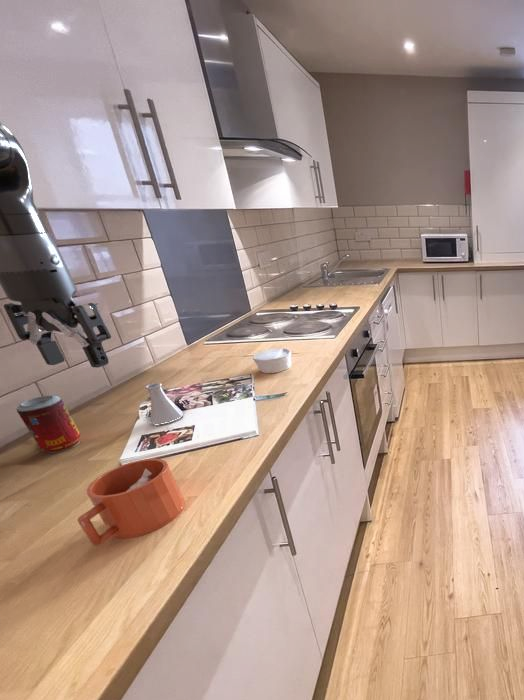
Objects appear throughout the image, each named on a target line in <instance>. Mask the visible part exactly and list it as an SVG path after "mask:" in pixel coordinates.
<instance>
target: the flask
mask: <svg viewBox="0 0 524 700" xmlns="http://www.w3.org/2000/svg"><path fill="white" fill-rule="evenodd" d="M145 389H146V390H147V391H148V393H149V398H150V418H149V419H150V422H151V423H154V424H161V423H165V422H170V421H172V420H175V419H177V418H179V417H182V414H183V413H184V411H182V409H180V408H179V406H177V404H175V403H174V402H173V401H172V400H171V399H170V398H169V397H168V396H167V395H166V393H165V391H164V390H163V388H162V383H161V382H153V383H149V384H147V385H145Z"/></svg>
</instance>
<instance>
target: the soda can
mask: <svg viewBox="0 0 524 700" xmlns="http://www.w3.org/2000/svg"><path fill="white" fill-rule="evenodd" d="M16 413H18V416H19V417H20V418H21V420H22V422H23V423H24V425H25V426H26V428H27V430H28V432H29V434H30V435H31V436H32V439H34V441H35V443H36V445H37V446H38V447H39V449H41V450H43V451H46V453H49V454H55V453H61V452H65V451H67V450H70V449H73V448H74V447H77V446H78V445H79V444H80V443H81V432H80V430H79V428H78V426H77V425H76V423H75V421H74V419H73V418H72V416H71V414H70V412H69V410H68V408H67V406H66V405H65V402H64V400H63V399H62V398H61V397H60V396H57V395H51V394H50V395H42V396H37V397H33V398H30V399H27V400H25V401H23V402H21V403H20V404H19V405H18V406H17V408H16Z"/></svg>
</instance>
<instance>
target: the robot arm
mask: <svg viewBox="0 0 524 700" xmlns="http://www.w3.org/2000/svg"><path fill="white" fill-rule="evenodd" d="M0 286H1V289H2V291H3V293H4V294H5V296H6V298H7V299H8V300H10V301H12V302H10V303H5V304H3V308H4V310H5V312H6V314H7V316H8V318H9V321H10V323H11V324H12V326H13V329H14V331H15V332H16V335H17V337H18V338H19V339H20V340H21V341H27V340H28V341H29V342H30V343H31V344H32V345H35V346H36V347H37V349H38V351H39V353H40V354H41V356H42V359H43V360H44V362H45V364H46V365H47V366H56V365H58V364H61V363H64V362H65V360H66V358H65V356H64V354H63V353H62V351H61V349H60V347H59V345H58V343H57V341H56V340H54V338H55V333H56V332H58V333H63V334H64V335H65V336H67V337H69V338H73V339H74V340H76V341H77V342H78V343H79V344H80V345H81V346H82V350H83V352H84V354H85V356H86V359H87V360H88V362H89V364H90V366H91V367H92V368H97V369H98V368H101V367H104V366H107V365H109V358H108V355H107V352H106V351H105V349H104V347H103V342H104V341H107V340H110V339H111V338H112V335H111V333H110V330H109V328H108V327H107V325H106V323H105V321H104V319H103V317H102V315H101V313H100V311H99V309H98V306H97V305H96V304H95V303H94V302H89V303H82V304H78V303H77V302H76V301H75V300H74V298H73V296H74V295H75V294H76V293H77V292H78V289H77V286H76V284H75V282H74V280H73V278H72V276H71V273H70V270H69V269H68V267H67V264H66V262H65V260H64V258H63V256H62V253H61V251H60V249H59V247H58V246H57V244H56V243H55V241H54V239H53V238H52V236H51V234H50V233H49V232H48V228H47V225H46V224H45V222H44V219H43V217H42V215H41V213H40V211H39V209H38V207H37V205H36V204H35V201H34V191H33V184H32V180H31V173H30V167H29V163H28V159H27V156H26V153H25V151H24V149H23V147H22V145H21V144H20V142H19V140H18V139H17V137H16V136H15V135H14V134H13V132H12V131H11V130H10V129H9V128H8V127H7V126H6V125H4V124H3V123H1V122H0ZM25 325H27V329H25ZM79 325H80V326H79ZM94 328H97V330H98V332H99V333H98V332H97V331H96V330H95V329H94ZM26 330H27V331H26ZM83 334H85V335H86V336H84V335H83Z"/></svg>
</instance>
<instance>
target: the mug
mask: <svg viewBox="0 0 524 700" xmlns="http://www.w3.org/2000/svg"><path fill="white" fill-rule="evenodd" d="M145 469H147V470H149V471H150V472H151V473H152V474H151V475H150V476H148V477H149V478H151V479H152V480H151V481H149V482H147V483H145V484H143V485H142V486H140V487H137V488H134V489H132V490H129V491H127V490H128V489H129V488H130V487H131V486H132V485H134V484H135V483H136V482H137V481H138V480H139V479H141V477H142V475H143V473H144V470H145ZM86 494H87V496H88V498H89V501H91V503H92V505H93V507H92V508H91V509H89V510H87V511H86V512H85V513H83V514H81V515H80V516H79V517H78V518H77V523H78V524H79V526H80V528H81V529H82V531H83V532H84V534H85V536H86V537H87V539H88V541H90V543H91V545H92V546H93V547H98V546H100V545H101V544H102V543H104V542H106V541H107V540H108V539H110V538H111V537H112V536H113V537H114V538H118V539H131V538H136V537H140V536H144V535H147V534H150V533H152V532H155V531H157V530H159V529H162V528H163V527H165V526H166V525H168V524H169V523H171V522H172V521H174V520H175V519H176V518H177V517H178V516H179V515H180V514H181V513H182V512H183V510H184V509H185V507H186V502H185V499H184V497H183V494H182V492H181V491H180V488H179V486H178V484H177V481H176V479H175V477H174V476H173V472H172V471H171V468H170V466H169V464H168V462H167V461H166V460H165V459H162V458H145V459H144V458H143V459H139V460H135V461H131V462H128V463H125V464H121V465H119V466H117V467H114V468H113V469H110V470H108V471H106V472H104V473H102V474H101V475H99V476H98V477H96V478H95V479H94V480H93V481H92V482H91V483H90V484H89V485H88V487H87V489H86ZM97 515H99V517H100V519H101V520H102V522H103V524H104V525H105V527H106V530H105V531H104V532H102V533H101V534H99V532H98V531H97V529H96V528H95V526H94V524H93V523H92V521H91V519H93V518H94V517H95V516H97Z"/></svg>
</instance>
